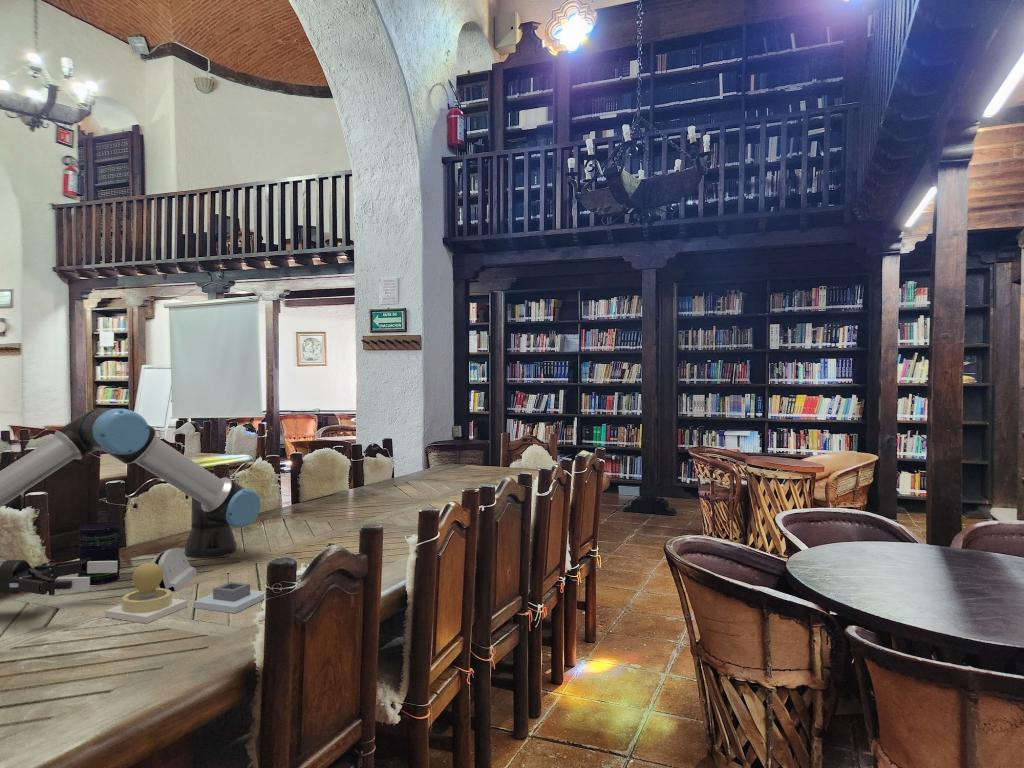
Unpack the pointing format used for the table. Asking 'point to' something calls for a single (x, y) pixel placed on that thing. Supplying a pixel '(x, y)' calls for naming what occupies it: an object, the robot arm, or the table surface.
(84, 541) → the storage jar
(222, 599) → the square socket
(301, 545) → the table surface
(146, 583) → the light bulb
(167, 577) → the white curved block
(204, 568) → the table surface
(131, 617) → the round socket
